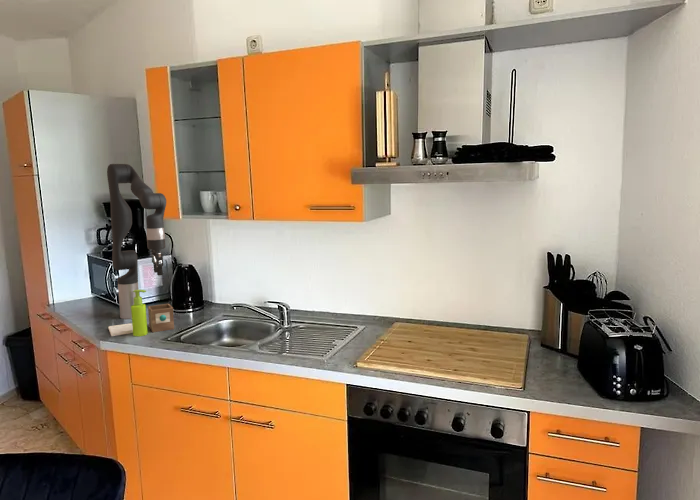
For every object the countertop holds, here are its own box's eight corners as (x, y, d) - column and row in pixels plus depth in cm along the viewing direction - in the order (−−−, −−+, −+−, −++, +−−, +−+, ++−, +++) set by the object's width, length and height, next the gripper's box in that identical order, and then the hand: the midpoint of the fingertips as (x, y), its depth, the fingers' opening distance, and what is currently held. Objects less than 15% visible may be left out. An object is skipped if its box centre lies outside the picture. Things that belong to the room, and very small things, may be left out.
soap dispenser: (144, 336, 215) (141, 291, 213) (130, 336, 217) (126, 291, 214) (152, 332, 221) (149, 288, 218) (138, 332, 223) (135, 288, 220)
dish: (108, 328, 228) (108, 326, 228) (138, 324, 235) (138, 322, 235) (111, 336, 217) (111, 333, 217) (143, 331, 224) (143, 328, 223)
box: (149, 327, 230) (147, 306, 228) (170, 324, 234) (168, 303, 233) (152, 332, 222) (151, 310, 220) (174, 329, 226) (173, 307, 225)
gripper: (167, 239, 218) (170, 275, 220) (161, 236, 230) (163, 270, 233) (149, 240, 214) (152, 277, 217) (144, 237, 227) (146, 272, 229)
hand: (158, 273), depth 225 cm, fingers open, 8 cm apart
